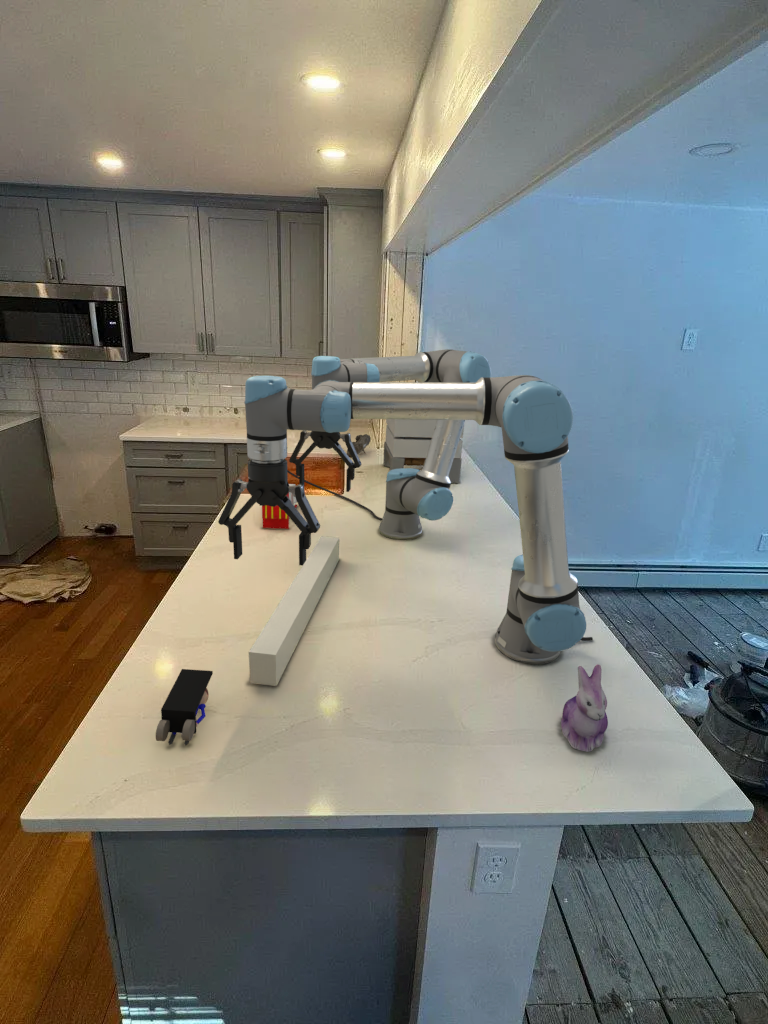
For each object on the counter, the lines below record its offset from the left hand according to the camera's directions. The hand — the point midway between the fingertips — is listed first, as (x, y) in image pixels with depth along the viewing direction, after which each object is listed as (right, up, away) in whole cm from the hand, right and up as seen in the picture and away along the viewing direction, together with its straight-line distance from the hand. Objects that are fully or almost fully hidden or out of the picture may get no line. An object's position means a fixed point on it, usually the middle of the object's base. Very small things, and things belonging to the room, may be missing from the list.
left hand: (325, 488), depth 162 cm
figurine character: (-20, -46, -57) cm, 76 cm away
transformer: (+34, +12, +113) cm, 118 cm away
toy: (-22, -8, +49) cm, 55 cm away
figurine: (+55, -49, -55) cm, 92 cm away
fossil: (+3, +25, +144) cm, 146 cm away
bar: (-4, -32, -15) cm, 35 cm away
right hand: (-6, -16, -46) cm, 50 cm away
